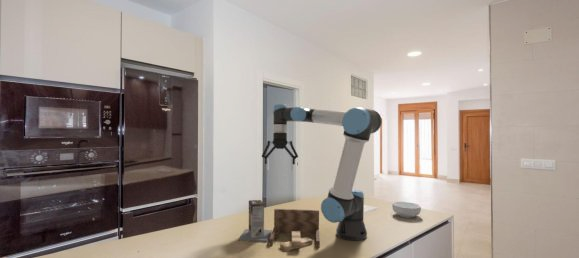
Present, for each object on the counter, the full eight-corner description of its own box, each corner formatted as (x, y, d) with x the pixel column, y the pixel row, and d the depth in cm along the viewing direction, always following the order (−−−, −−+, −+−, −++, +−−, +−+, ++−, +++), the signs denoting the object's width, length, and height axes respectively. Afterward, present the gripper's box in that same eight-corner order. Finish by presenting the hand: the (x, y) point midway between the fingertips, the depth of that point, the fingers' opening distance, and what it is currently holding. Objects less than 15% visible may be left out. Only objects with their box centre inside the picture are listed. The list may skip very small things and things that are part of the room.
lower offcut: (306, 242, 138) (306, 236, 138) (312, 245, 134) (312, 240, 134) (280, 249, 129) (280, 243, 129) (285, 252, 126) (285, 247, 126)
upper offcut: (291, 236, 138) (291, 231, 138) (299, 236, 138) (300, 231, 138) (291, 247, 125) (292, 241, 125) (301, 247, 125) (301, 241, 125)
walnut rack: (318, 233, 147) (319, 210, 148) (319, 247, 130) (319, 221, 130) (274, 231, 149) (274, 208, 149) (269, 245, 131) (269, 219, 131)
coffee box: (248, 231, 146) (248, 200, 147) (260, 230, 148) (260, 199, 148) (251, 238, 138) (251, 204, 138) (264, 237, 140) (264, 203, 140)
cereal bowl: (424, 220, 171) (424, 208, 171) (395, 219, 173) (395, 207, 173) (416, 212, 187) (416, 201, 187) (389, 211, 190) (390, 200, 190)
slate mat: (271, 231, 149) (271, 230, 149) (267, 242, 136) (267, 240, 136) (245, 230, 151) (245, 229, 151) (238, 240, 137) (238, 239, 137)
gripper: (302, 132, 163) (302, 169, 163) (259, 132, 165) (258, 168, 165) (302, 132, 156) (302, 171, 156) (256, 132, 157) (256, 170, 157)
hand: (279, 170), depth 160 cm, fingers open, 13 cm apart
